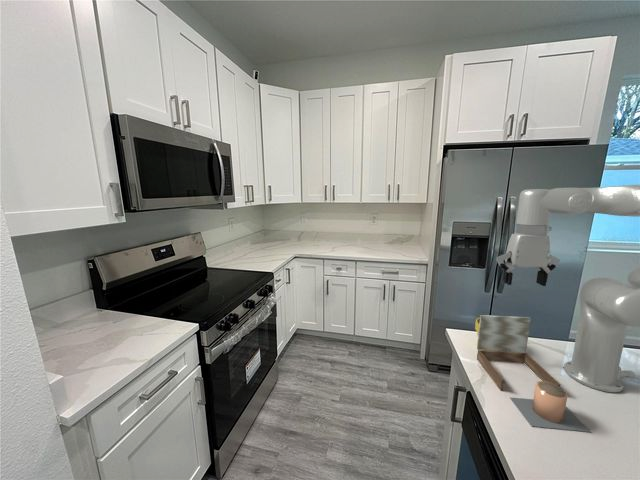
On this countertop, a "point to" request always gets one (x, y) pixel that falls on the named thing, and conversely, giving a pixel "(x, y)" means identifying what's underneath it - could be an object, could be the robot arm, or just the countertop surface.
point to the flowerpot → (549, 401)
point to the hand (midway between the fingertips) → (523, 284)
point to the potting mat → (536, 421)
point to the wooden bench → (506, 346)
